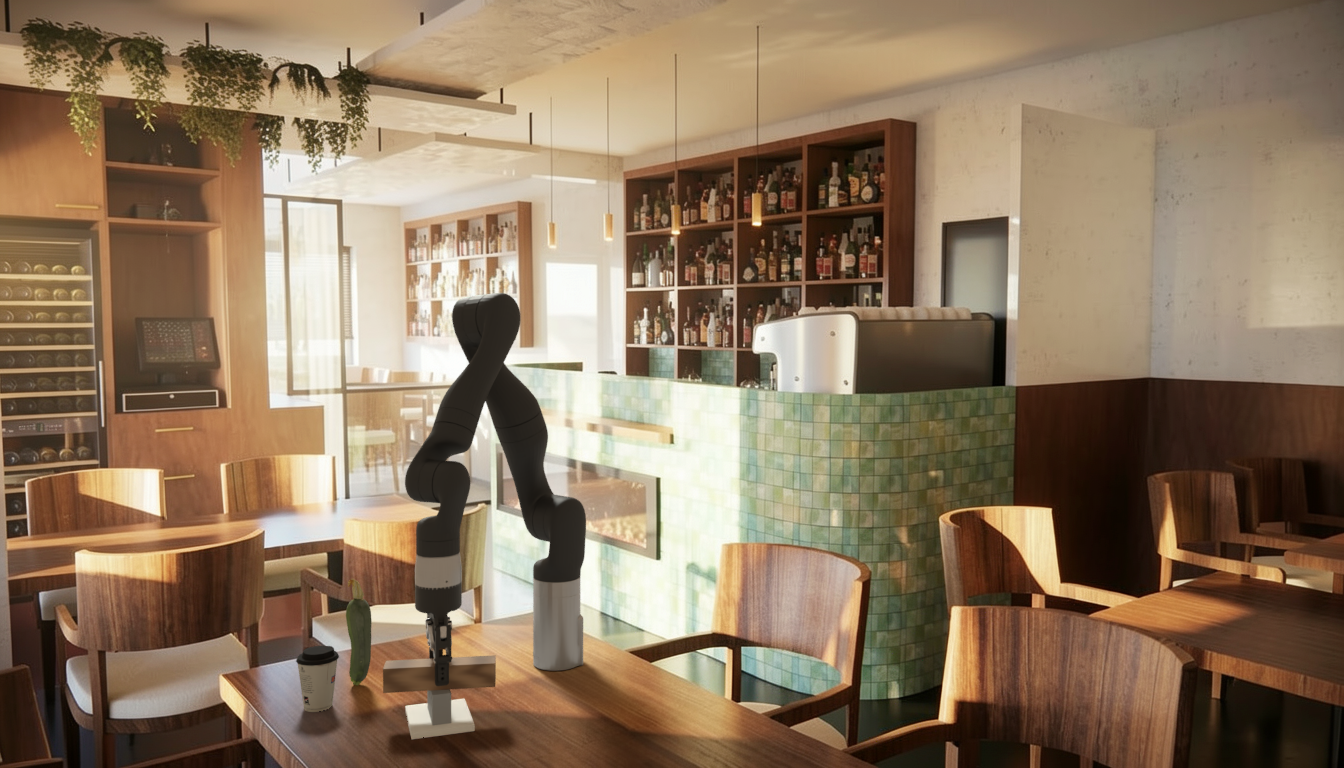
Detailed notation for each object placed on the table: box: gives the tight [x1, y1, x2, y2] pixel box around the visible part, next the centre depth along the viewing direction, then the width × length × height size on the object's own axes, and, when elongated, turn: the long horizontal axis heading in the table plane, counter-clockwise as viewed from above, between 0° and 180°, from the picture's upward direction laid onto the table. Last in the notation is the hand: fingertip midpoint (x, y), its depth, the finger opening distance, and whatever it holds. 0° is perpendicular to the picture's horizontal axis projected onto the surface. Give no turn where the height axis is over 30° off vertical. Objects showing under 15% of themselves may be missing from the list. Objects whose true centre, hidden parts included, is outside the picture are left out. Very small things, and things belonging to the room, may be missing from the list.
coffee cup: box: [295, 645, 340, 713], centre depth 164 cm, size 7×7×10 cm
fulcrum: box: [404, 689, 476, 740], centre depth 158 cm, size 10×12×6 cm
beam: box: [382, 655, 497, 694], centre depth 158 cm, size 18×4×4 cm, turn 100°
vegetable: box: [345, 578, 372, 686], centre depth 173 cm, size 4×4×20 cm
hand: (438, 676), depth 158 cm, fingers open, 8 cm apart
